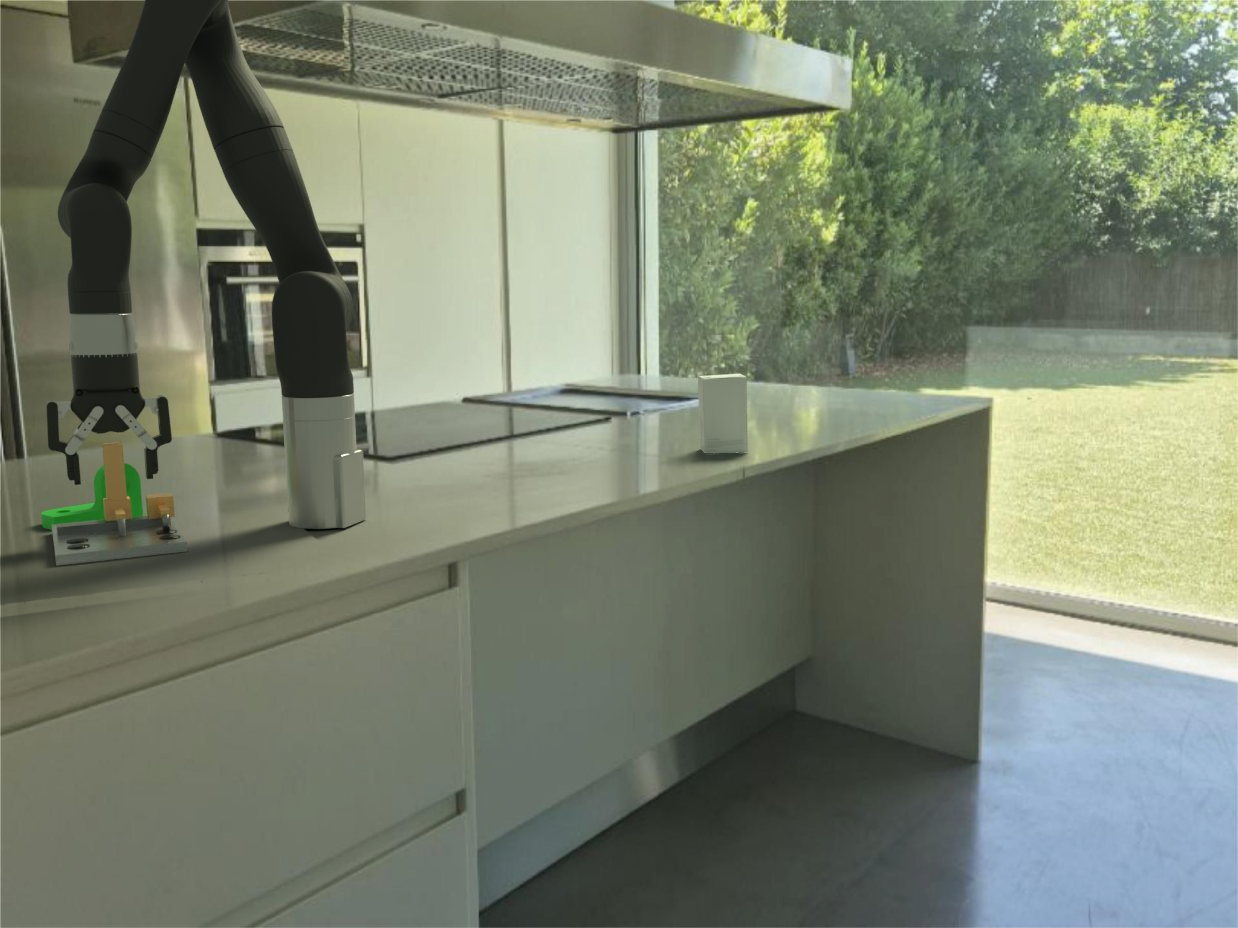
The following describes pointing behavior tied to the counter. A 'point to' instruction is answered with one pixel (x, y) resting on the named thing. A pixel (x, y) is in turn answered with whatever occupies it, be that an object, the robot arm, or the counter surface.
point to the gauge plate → (106, 544)
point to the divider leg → (115, 486)
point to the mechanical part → (97, 501)
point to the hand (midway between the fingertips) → (113, 481)
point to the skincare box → (723, 413)
